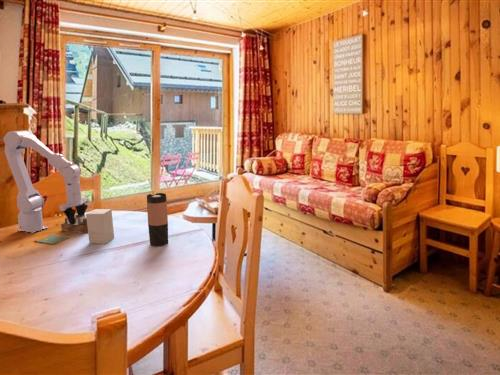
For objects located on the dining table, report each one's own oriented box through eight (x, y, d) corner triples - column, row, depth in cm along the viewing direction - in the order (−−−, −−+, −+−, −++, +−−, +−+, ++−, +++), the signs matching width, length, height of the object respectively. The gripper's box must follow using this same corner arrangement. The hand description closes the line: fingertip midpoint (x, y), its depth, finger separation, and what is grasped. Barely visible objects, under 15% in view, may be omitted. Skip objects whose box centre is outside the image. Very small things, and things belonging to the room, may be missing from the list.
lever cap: (67, 223, 152) (66, 215, 152) (75, 220, 157) (74, 213, 156) (78, 225, 151) (77, 217, 150) (85, 222, 155) (85, 214, 154)
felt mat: (34, 241, 140) (34, 240, 140) (51, 235, 148) (51, 234, 148) (53, 244, 137) (53, 243, 137) (69, 238, 145) (69, 237, 144)
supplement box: (114, 237, 145) (112, 208, 142) (105, 244, 138) (103, 213, 135) (98, 237, 146) (95, 208, 143) (88, 243, 139) (85, 213, 136)
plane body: (61, 230, 154) (60, 217, 153) (70, 227, 159) (69, 214, 157) (85, 233, 150) (83, 220, 149) (93, 230, 155) (92, 217, 153)
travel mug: (163, 247, 135) (161, 197, 131) (145, 245, 136) (142, 196, 132) (171, 240, 142) (169, 193, 138) (154, 239, 143) (152, 192, 139)
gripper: (67, 197, 143) (70, 228, 146) (93, 189, 156) (95, 218, 159) (54, 195, 145) (57, 226, 148) (80, 188, 158) (83, 217, 161)
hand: (76, 222), depth 154 cm, fingers closed on lever cap, 4 cm apart
